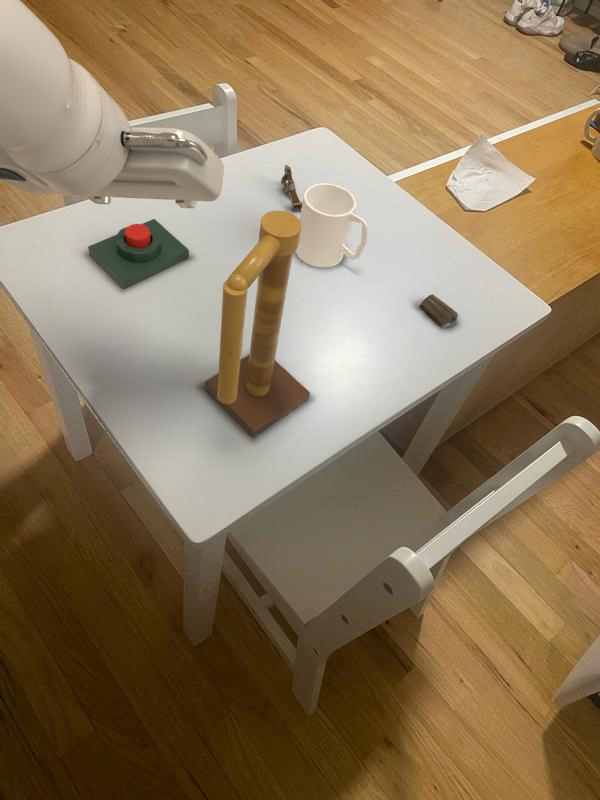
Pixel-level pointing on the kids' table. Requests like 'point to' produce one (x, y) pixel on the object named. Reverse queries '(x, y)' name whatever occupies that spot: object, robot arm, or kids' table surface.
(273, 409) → the paper towel holder
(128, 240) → the red button
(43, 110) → the robot arm
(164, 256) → the button block
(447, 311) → the block
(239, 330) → the bent wooden pipe
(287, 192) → the wooden post with brackets
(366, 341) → the kids' table surface
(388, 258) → the kids' table surface
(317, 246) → the cup
